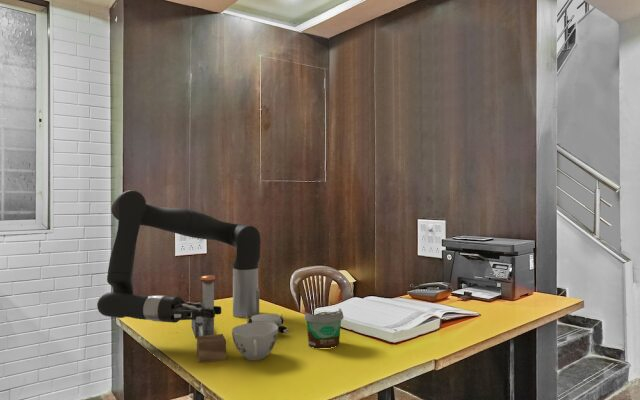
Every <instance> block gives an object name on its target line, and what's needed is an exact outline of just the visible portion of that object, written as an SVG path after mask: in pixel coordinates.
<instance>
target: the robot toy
mask: <svg viewBox="0 0 640 400" xmlns="http://www.w3.org/2000/svg"><path fill="white" fill-rule="evenodd" d="M280 315H281V316H280ZM245 319H246V324H248V323H255V322H265V323H267V322H268V323H271V324H275V325H277V326H278V332H279V333H282V334H287V333H290V330H289V329H288V328H287V326H284V323H285V319H284V316H283V313H281V314H277V313H259V315H254V316H251V317H249V318H248V317H247V316H246V317H245Z"/></svg>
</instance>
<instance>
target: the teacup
mask: <svg viewBox="0 0 640 400" xmlns="http://www.w3.org/2000/svg"><path fill="white" fill-rule="evenodd" d="M278 332H279V330H278V326H277V325H275V324H271V323H268V322H267V323H265V322H255V323H248V324H247V323H244V324H240V325H236V326H234V327H232V329H231V335H232V341H233V343H234V345H235V347H236V349H237V351H238V352H239V353H240V354H241V355H242V356H243V357H244V359H246V360H249V361H259V360H263V359H265V358H266V357H267V355H269V353H270V352H271V351H272V350H273V349H274V346H275V344H276V342H277V339H278V338H277V337H278V334H279V333H278Z"/></svg>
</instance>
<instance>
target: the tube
mask: <svg viewBox="0 0 640 400" xmlns="http://www.w3.org/2000/svg"><path fill="white" fill-rule="evenodd" d="M200 281H201V282H202V285H201V286H202V302H203V309H212V310H214V306H215V281H216V275H214V274H213V275H212V274H211V275H209V274H208V275H202V276H200ZM197 333H198V336H206V335H215V317H214V318H205V317H203V324H197Z"/></svg>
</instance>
